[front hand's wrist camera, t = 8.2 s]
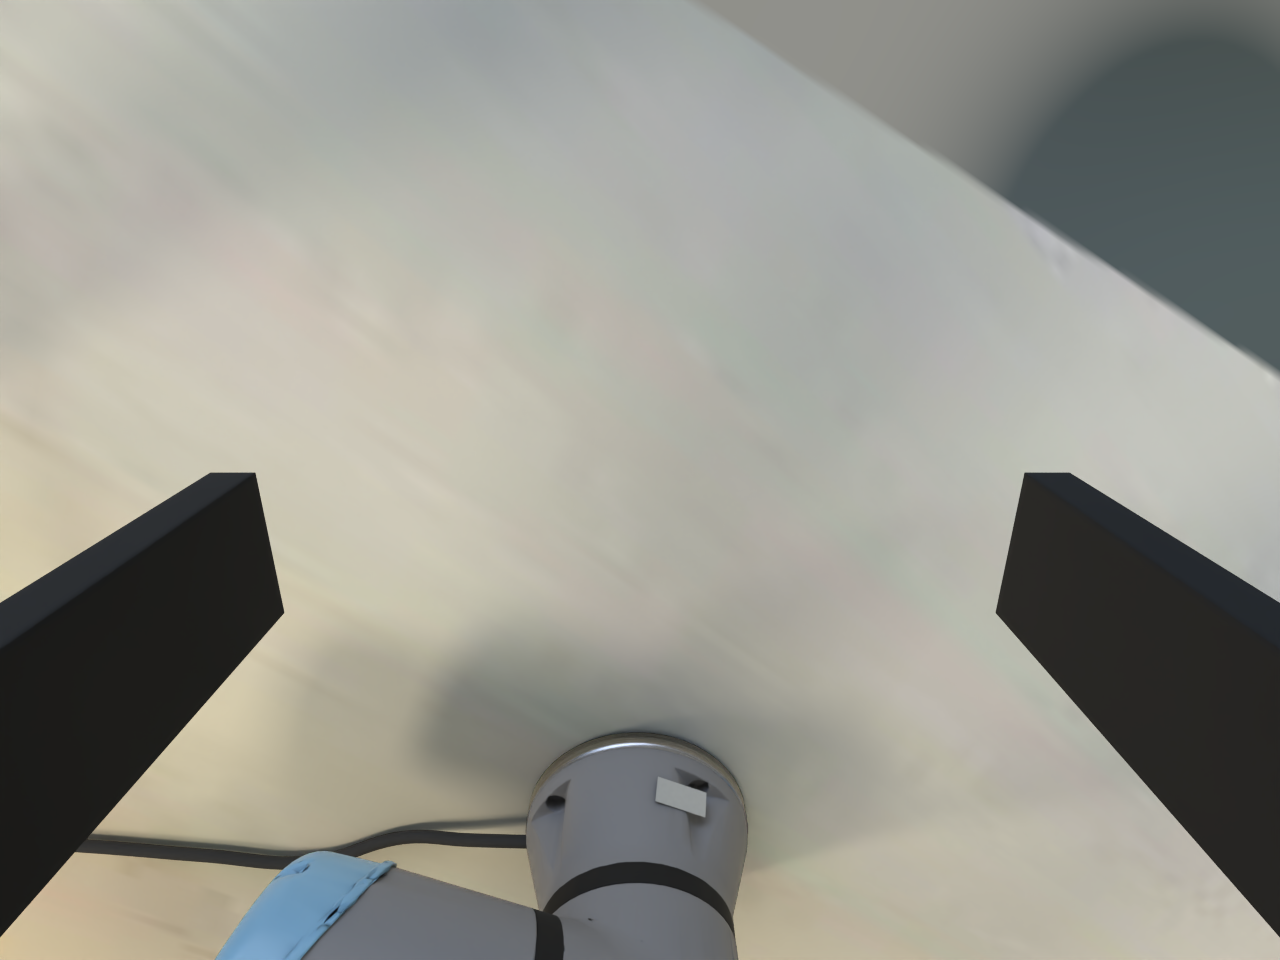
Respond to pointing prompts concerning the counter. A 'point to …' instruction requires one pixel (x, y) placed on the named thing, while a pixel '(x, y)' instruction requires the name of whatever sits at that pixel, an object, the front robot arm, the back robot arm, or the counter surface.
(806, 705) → the counter surface
